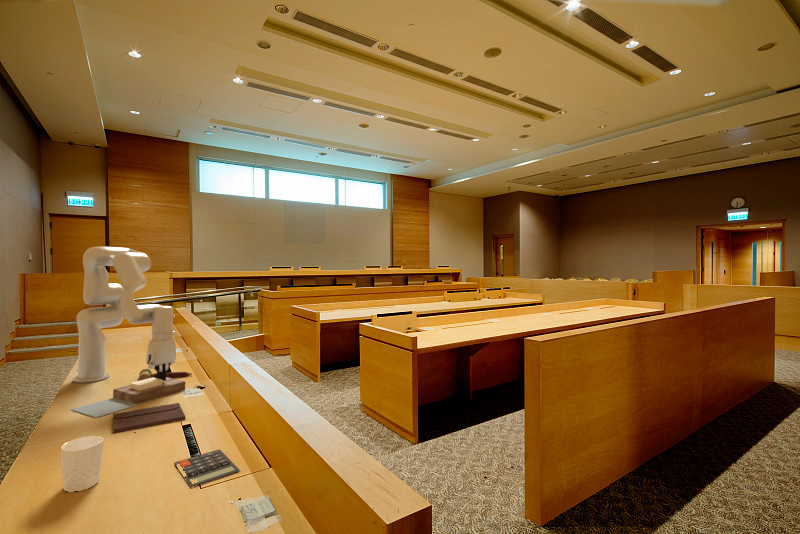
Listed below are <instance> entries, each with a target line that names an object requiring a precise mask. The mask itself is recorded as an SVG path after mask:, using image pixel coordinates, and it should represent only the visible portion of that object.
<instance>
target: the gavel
mask: <svg viewBox="0 0 800 534" xmlns="http://www.w3.org/2000/svg"><path fill="white" fill-rule="evenodd" d="M192 375H193V373H192V372H191V373H190V372H187V371H174V372H173V371H171V372H168V371H166V377H168V378H172V379H176V378H177V377H179V378H186V376H187V377H190V376H192ZM153 377H154V378H157V372H156V373H154V372H152V369H149V368H143V369H142V370H140V372H139V375H138V378H137V381H140V380H144V379H148V378H153Z"/></svg>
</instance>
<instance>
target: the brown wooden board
mask: <svg viewBox="0 0 800 534" xmlns="http://www.w3.org/2000/svg"><path fill="white" fill-rule="evenodd" d="M112 390H113V391H112V392H113V393H112V398H117V399H121V400H124V401H128V402H131V403H135V404H138V405H139V404H141V403H145V402H149V401H153V400H155V399H159V398H162V397H165V396H170V395H172V394H176V393H178V392H183V391H185V390H186V381H185V380H181V379H176V378H168V377H166V380H165V381H162V385H159V386H155V387H151V388H147V389H144V390H140V391H139V390H135V389H132V388H130V384H129V385H124V386H120V387H116V388H113V389H112Z"/></svg>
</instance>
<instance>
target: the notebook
mask: <svg viewBox="0 0 800 534" xmlns="http://www.w3.org/2000/svg"><path fill="white" fill-rule="evenodd" d="M185 420H186V415H185V413H184V410H183V409H182V407H181V404H180V403H179V402H176V403H170V404H164V405H158V406H152V407H146V408H145V407H144V408H139V409H134V410H128V411H127V410H126V411H121V412H114V413H112V423H113V424H112V426H113V434H116V433H117V432H118V433H123V432H127V431H133V430H139V429H143V428H149V426H150V427H153V426H154V425H155V426H159V425H160V426H161V425H164V424H165V425H166V424H170V423H176V422H181V421H185ZM175 421H176V422H175Z"/></svg>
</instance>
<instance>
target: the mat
mask: <svg viewBox="0 0 800 534" xmlns="http://www.w3.org/2000/svg"><path fill="white" fill-rule="evenodd" d="M137 406H139V404H135V403H131V402H128V401H124V400H121V399H117V398H113V397H111V398H108V399H107V398H106V399H103V400H101V401H96V402H93V403H92V402H91V403H90V404H85V405H83V406H82V405H81V406H78V407H75V408H71V411H73V412H75V413H79V414H81V415H85V416H88V417H92V418H95V419H97V418H100V417H104V416H108V415H110V414H115V413H119V412H120V411H121V412H122V411H123V410H127V409H131V408H135V407H137Z"/></svg>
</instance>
